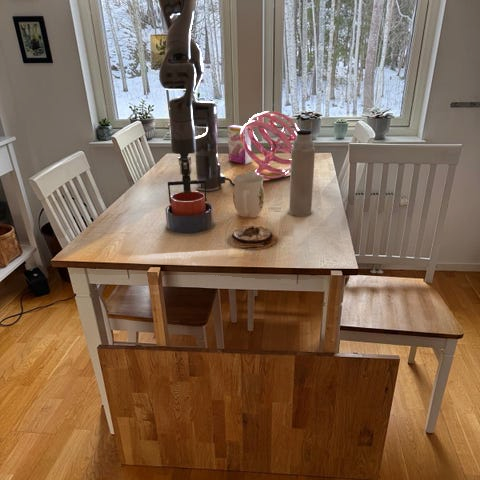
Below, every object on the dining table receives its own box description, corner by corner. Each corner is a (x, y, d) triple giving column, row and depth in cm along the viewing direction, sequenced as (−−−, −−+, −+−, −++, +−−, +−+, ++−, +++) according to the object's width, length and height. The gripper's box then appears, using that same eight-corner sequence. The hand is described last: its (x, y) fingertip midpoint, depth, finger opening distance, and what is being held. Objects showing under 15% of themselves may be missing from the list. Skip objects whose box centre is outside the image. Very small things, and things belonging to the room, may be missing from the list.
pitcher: (228, 224, 162) (227, 184, 154) (237, 207, 177) (236, 170, 169) (260, 226, 160) (260, 185, 153) (266, 208, 175) (267, 170, 168)
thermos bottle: (292, 207, 175) (295, 127, 160) (313, 209, 173) (318, 128, 158) (286, 215, 169) (289, 132, 153) (308, 217, 166) (313, 133, 151)
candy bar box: (228, 161, 235) (226, 126, 226) (234, 159, 238) (233, 124, 229) (245, 164, 229) (244, 128, 220) (251, 162, 232) (251, 127, 223)
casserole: (202, 215, 170) (201, 198, 166) (220, 229, 158) (219, 211, 154) (161, 223, 164) (159, 205, 161) (176, 238, 152) (174, 219, 149)
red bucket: (172, 220, 165) (167, 176, 157) (206, 218, 166) (204, 174, 158) (172, 232, 155) (167, 186, 147) (209, 229, 157) (206, 184, 148)
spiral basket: (255, 141, 182) (291, 91, 188) (214, 147, 204) (248, 103, 210) (292, 192, 199) (324, 145, 205) (251, 193, 220) (281, 150, 226)
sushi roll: (244, 253, 141) (243, 240, 139) (221, 237, 152) (220, 225, 150) (285, 242, 147) (285, 230, 145) (260, 228, 158) (260, 216, 156)
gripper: (195, 140, 139) (199, 196, 148) (194, 130, 152) (197, 183, 161) (170, 141, 139) (175, 197, 148) (170, 131, 151) (175, 184, 160)
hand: (187, 189), depth 154 cm, fingers open, 6 cm apart
